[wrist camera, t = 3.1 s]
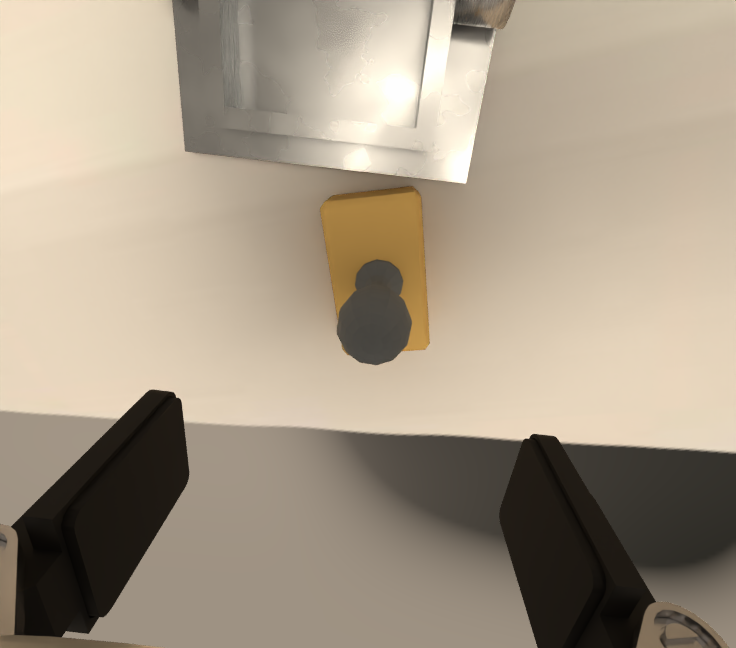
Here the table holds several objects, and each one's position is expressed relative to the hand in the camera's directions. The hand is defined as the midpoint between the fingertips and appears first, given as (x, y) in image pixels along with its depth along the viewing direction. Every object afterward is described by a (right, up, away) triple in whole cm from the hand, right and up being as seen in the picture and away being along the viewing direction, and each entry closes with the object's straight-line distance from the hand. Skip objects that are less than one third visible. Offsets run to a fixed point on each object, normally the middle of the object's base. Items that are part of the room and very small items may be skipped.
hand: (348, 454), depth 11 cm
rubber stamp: (+1, +8, +17) cm, 18 cm away
